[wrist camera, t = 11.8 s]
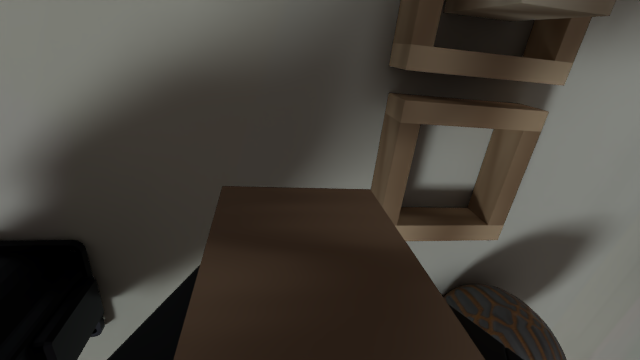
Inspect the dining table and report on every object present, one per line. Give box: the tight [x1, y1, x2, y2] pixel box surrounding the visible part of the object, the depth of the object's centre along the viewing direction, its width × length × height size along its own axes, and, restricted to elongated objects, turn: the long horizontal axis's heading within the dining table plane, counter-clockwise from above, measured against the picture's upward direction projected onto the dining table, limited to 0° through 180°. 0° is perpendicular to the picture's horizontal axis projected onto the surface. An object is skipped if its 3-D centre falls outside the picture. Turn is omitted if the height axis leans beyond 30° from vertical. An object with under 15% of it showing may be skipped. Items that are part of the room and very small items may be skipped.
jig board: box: [371, 0, 592, 241], centre depth 14 cm, size 8×23×2 cm, turn 174°
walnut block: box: [174, 186, 485, 360], centre depth 7 cm, size 4×4×6 cm
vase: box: [443, 284, 567, 360], centre depth 19 cm, size 7×7×9 cm
